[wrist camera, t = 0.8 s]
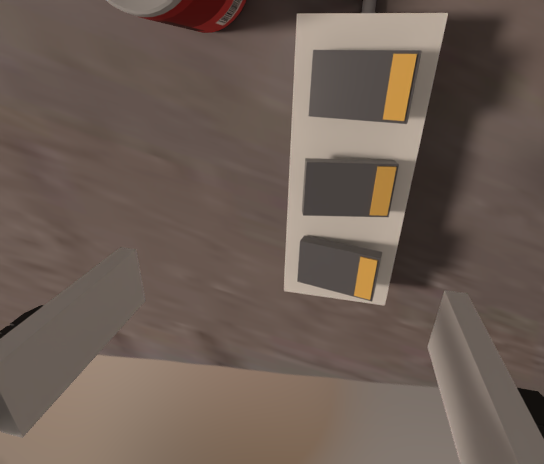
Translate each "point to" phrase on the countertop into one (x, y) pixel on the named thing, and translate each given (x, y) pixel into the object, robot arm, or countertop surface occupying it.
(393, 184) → the rocker middle
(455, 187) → the countertop surface
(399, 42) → the rocker switch panel
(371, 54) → the rocker
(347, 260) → the block
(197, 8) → the canned food
